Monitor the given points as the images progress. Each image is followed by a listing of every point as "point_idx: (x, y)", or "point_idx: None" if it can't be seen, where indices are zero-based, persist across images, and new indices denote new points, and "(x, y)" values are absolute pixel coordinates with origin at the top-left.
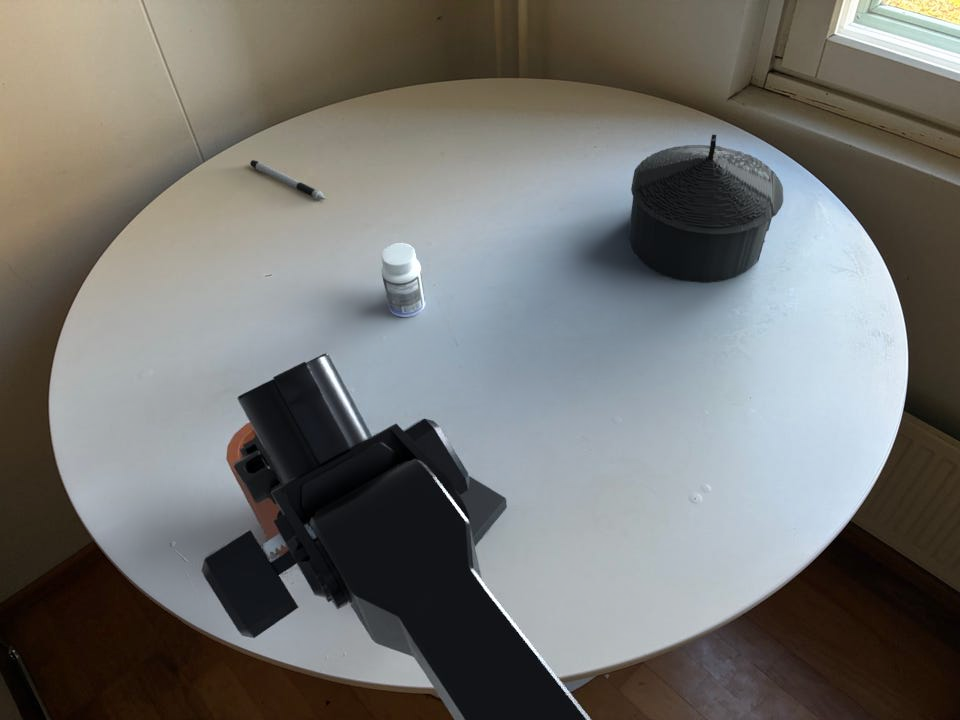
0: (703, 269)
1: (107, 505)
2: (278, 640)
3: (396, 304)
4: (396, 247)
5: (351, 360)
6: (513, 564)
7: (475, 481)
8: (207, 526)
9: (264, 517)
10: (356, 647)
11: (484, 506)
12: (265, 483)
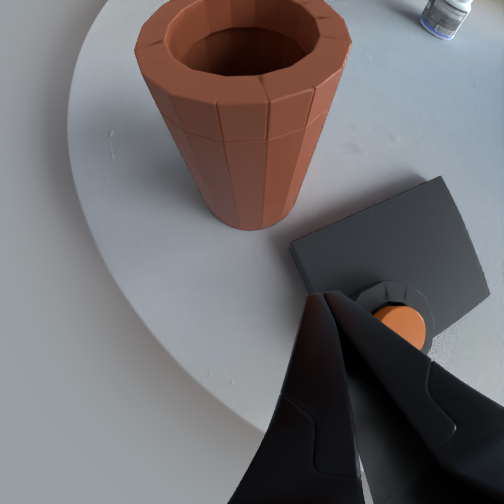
0: None
1: (87, 75)
2: (163, 319)
3: (434, 19)
4: None
5: (375, 34)
6: (452, 367)
7: (474, 252)
8: (149, 127)
9: (189, 167)
10: (248, 382)
11: (470, 292)
12: None
